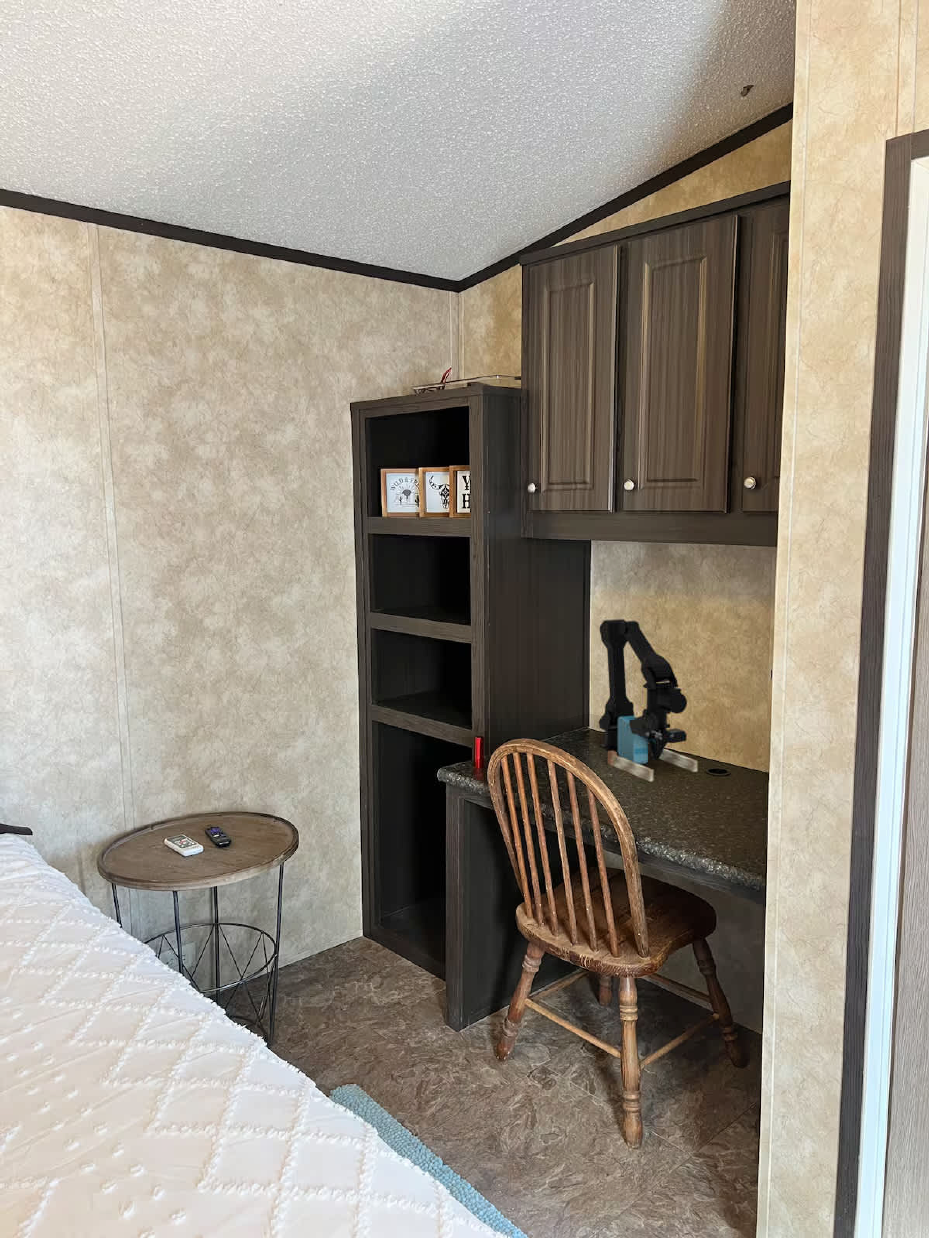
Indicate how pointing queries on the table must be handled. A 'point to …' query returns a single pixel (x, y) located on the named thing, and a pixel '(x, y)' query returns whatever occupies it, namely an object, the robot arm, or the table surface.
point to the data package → (631, 742)
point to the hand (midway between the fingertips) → (656, 759)
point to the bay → (647, 772)
